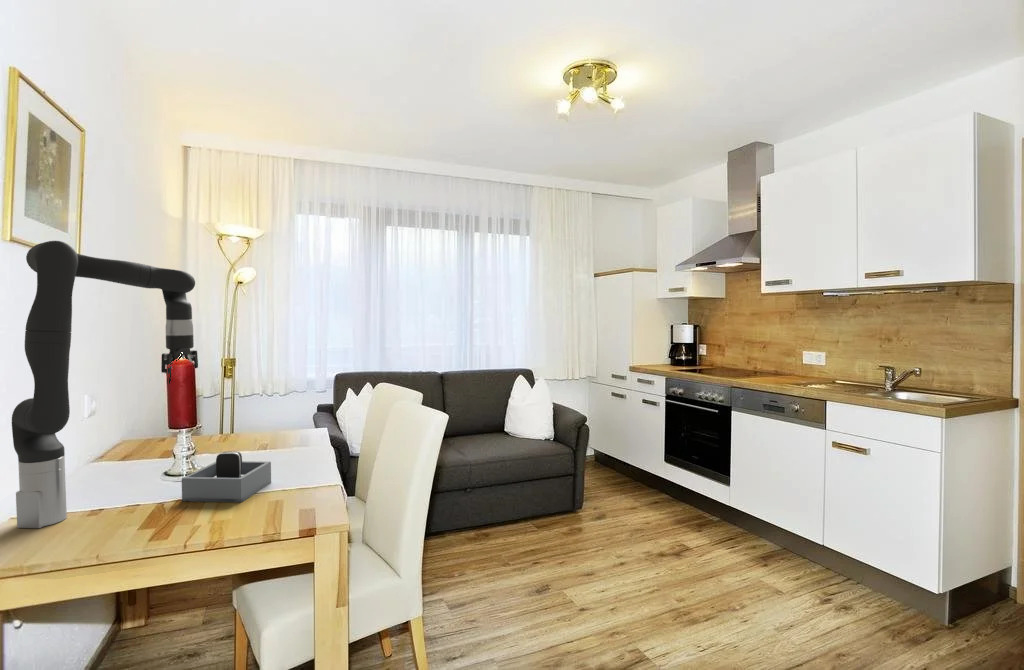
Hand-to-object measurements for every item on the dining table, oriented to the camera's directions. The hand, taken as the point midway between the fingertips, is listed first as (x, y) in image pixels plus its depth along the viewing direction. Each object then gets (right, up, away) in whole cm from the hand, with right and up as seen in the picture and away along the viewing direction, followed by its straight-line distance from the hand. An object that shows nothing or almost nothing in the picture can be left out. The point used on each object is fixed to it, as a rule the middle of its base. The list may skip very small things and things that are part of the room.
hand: (180, 384), depth 168 cm
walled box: (+18, -33, -4) cm, 38 cm away
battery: (+18, -33, -3) cm, 37 cm away
